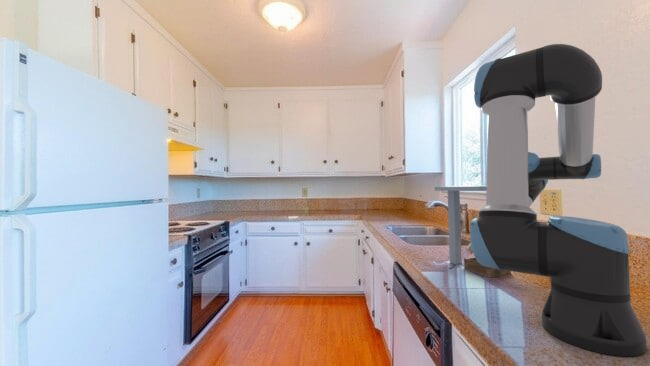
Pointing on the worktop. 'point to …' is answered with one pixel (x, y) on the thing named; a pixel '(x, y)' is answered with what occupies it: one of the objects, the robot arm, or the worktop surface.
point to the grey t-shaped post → (456, 218)
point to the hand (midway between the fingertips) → (478, 254)
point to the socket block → (482, 268)
